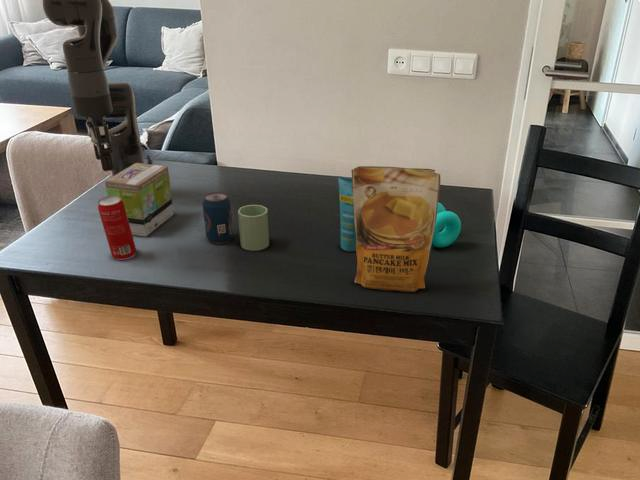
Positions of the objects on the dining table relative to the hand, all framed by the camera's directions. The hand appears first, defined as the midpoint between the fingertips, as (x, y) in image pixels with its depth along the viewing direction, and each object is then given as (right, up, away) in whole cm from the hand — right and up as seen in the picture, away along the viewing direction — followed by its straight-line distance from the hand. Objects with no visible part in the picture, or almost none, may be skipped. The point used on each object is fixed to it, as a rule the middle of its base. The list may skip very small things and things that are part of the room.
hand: (104, 164), depth 133 cm
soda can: (+21, -16, +21) cm, 34 cm away
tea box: (-1, -11, +28) cm, 30 cm away
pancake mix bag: (+65, -27, +4) cm, 70 cm away
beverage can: (-1, -21, +12) cm, 24 cm away
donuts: (+78, -16, +24) cm, 83 cm away
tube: (+55, -18, +19) cm, 61 cm away
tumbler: (+31, -17, +19) cm, 40 cm away
